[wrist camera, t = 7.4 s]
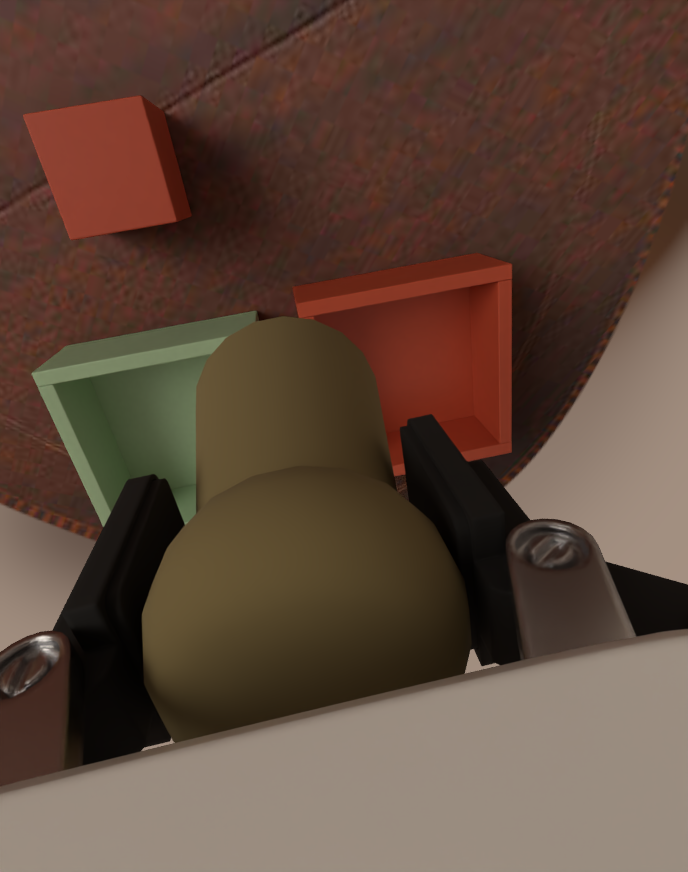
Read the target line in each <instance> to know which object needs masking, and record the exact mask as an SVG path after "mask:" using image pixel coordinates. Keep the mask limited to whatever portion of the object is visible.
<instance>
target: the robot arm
mask: <svg viewBox="0 0 688 872" xmlns="http://www.w3.org/2000/svg"><path fill="white" fill-rule="evenodd" d="M400 437H401V445H402V452H403V459H404V467H405V474H406V482H407V489H408V497H409V502H410V503H411V504H413V505H414V506H415V507H416V508H417V509H419V510H420V511H421V512H422V513H423V514H424V515H425V516H426V517H427V518H429V519H430V520H431V521H432V522H433V523H434V525H435V526H436V528H437V530H438V532H439V534H440V535H441V537H442V539H443V541H444V543H445V545H446V546H447V548H448V550H449V552H450V554H451V556H452V557H453V559H454V561H455V563H456V565H457V567H458V569H459V571H460V572H461V574H462V576H463V578H464V580H465V586H466V592H467V598H468V605H469V614H470V628H471V641H472V645H471V649H474V650H475V652H476V655H477V657H478V659H479V661H480V664H481V666H485V665H489V664H493V663H497V664H499V665H500V666H496V667H492V668H488V669H483V670H479V671H475V672H471V673H466V674H462V675H458V676H453V677H449V678H445V679H441V680H436V681H432V682H428V683H424V684H419V685H415V686H411V687H406V688H402V689H398V690H394V691H389V692H385V693H381V694H377V695H372V696H368V697H364V698H360V699H356V700H351V701H347V702H343V703H339V704H335V705H331V706H326V707H322V708H318V709H314V710H310V711H306V712H301V713H297V714H293V715H289V716H285V717H281V718H276V719H272V720H268V721H264V722H260V723H256V724H252V725H247V726H243V727H239V728H235V729H231V730H227V731H223V732H218V733H214V734H210V735H206V736H202V737H198V738H194V739H189V740H185V741H181V742H177V743H173V744H169V745H165V746H161V747H157V748H153V749H149V750H145V751H141V750H142V749H143V748H144V747H148V746H152V745H156V744H160V743H165V742H169V741H170V740H171V736H170V734H169V732H168V730H167V728H166V727H165V725H164V723H163V721H162V719H161V717H160V715H159V713H158V712H157V709H156V707H155V705H154V703H153V701H152V699H151V697H150V695H149V693H148V691H147V689H146V687H145V685H144V670H143V639H142V612H143V609H144V606H145V603H146V600H147V597H148V594H149V591H150V587H151V585H152V582H153V580H154V578H155V575H156V573H157V571H158V568H159V566H160V564H161V561H162V559H163V556H164V554H165V552H166V549H167V547H168V546H169V545H170V543H171V542H172V541H173V540H174V538H175V537H176V536H177V534H178V533H179V532H180V531H181V529H182V528H183V527H184V526H185V524H184V521H183V518H182V516H181V513H180V511H179V508H178V506H177V503H176V501H175V498H174V495H173V493H172V490H171V488H170V485H169V483H168V481H167V480H166V479H165V478H163V479H159V478H158V477H157V476H156V475H155V474H151V475H147V476H142V477H137V478H133V479H128V480H127V481H126V483H125V485H124V487H123V489H122V491H121V493H120V495H119V497H118V499H117V501H116V503H115V505H114V507H113V509H112V511H111V513H110V515H109V517H108V519H107V522H106V524H105V526H104V528H103V530H102V532H101V534H100V536H99V538H98V540H97V542H96V544H95V546H94V548H93V550H92V552H91V554H90V556H89V558H88V560H87V562H86V564H85V566H84V568H83V570H82V572H81V574H80V576H79V578H78V580H77V582H76V584H75V586H74V588H73V590H72V592H71V594H70V596H69V598H68V600H67V602H66V604H65V606H64V608H63V610H62V612H61V614H60V617H59V619H58V620H57V623H56V624H55V626H54V629H53V630H52V631H44V632H39V633H36V634H33V635H30V636H27V637H25V638H23V639H21V640H19V641H17V642H15V643H13V644H11V645H10V646H8V647H7V648H6V649H4V650H3V651H1V652H0V872H688V585H687V584H684V583H680V582H676V581H673V580H669V579H665V578H662V577H659V576H655V575H651V574H648V573H644V572H640V571H637V570H633V569H630V568H626V567H623V566H619V565H616V564H612V563H608V562H605V560H604V558H603V555H602V553H601V550H600V548H599V546H598V544H597V542H596V541H595V539H594V538H593V536H592V535H591V534H589V533H588V532H587V531H585V530H584V529H583V528H581V527H579V526H577V525H574V524H572V523H570V522H565V521H561V520H556V519H537V520H530V519H529V518H528V517H527V515H526V514H525V513H524V512H523V510H522V509H521V508H520V507H519V506H518V504H517V503H516V502H515V501H514V499H513V498H512V497H511V496H510V494H509V493H508V492H507V491H506V489H505V488H504V487H503V486H502V484H501V483H500V482H499V481H498V479H497V478H496V477H495V476H494V474H493V473H492V472H491V471H490V469H489V468H488V467H487V466H486V464H485V463H484V462H483V461H482V460H476V461H472V462H467V461H466V459H465V458H464V457H463V455H462V454H461V453H460V451H459V450H458V449H457V447H456V446H455V444H454V443H453V442H452V440H451V439H450V438H449V436H448V435H447V434H446V432H445V431H444V430H443V428H442V427H441V426H440V424H439V423H438V421H437V420H436V419H435V417H434V416H433V415H432V414H429V415H424V416H420V417H415V418H410V419H408V420H407V426H403V427H400ZM471 649H470V650H471ZM140 751H141V752H140Z"/></svg>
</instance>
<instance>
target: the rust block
mask: <svg viewBox="0 0 688 872" xmlns="http://www.w3.org/2000/svg"><path fill="white" fill-rule="evenodd" d="M23 117H24V120H25V122H26V125H27V127H28V130H29V133H30V135H31V138H32V141H33V143H34V146H35V148H36V151H37V154H38V156H39V159H40V161H41V164H42V167H43V169H44V172H45V175H46V177H47V180H48V182H49V185H50V188H51V190H52V193H53V196H54V198H55V201H56V203H57V206H58V209H59V211H60V214H61V216H62V219H63V222H64V224H65V227H66V230H67V232H68V235H69V237H70V239H71V240H77V239H83V238H88V237H94V236H100V235H106V234H111V233H117V232H123V231H128V230H134V229H140V228H146V227H151V226H157V225H163V224H168V223H174V222H178V221H181V220H183V219H186V218H189V217H191V216H192V214H191V210H190V207H189V203H188V199H187V196H186V192H185V188H184V185H183V181H182V177H181V174H180V170H179V166H178V162H177V159H176V155H175V151H174V148H173V144H172V140H171V137H170V133H169V129H168V125H167V122H166V118H165V114H164V112H163V111H162V110H161V109H159V108H158V107H156V106H155V105H154V104H152V103H151V102H149V101H148V100H147V99H145V98H144V97H143V96H134V97H127V98H121V99H115V100H109V101H103V102H96V103H90V104H84V105H78V106H72V107H66V108H59V109H53V110H47V111H41V112H35V113H29V114H24V115H23Z"/></svg>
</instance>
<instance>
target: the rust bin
mask: <svg viewBox="0 0 688 872" xmlns="http://www.w3.org/2000/svg"><path fill="white" fill-rule="evenodd" d="M293 293H294V298H295V303H296V308H297V313H298V318H303V319H312V320H316V321H318V322H320V323H322V324H325V325H327V326H329V327H331V328H333V329H335V330H338V331H340V332H342V333H343V334H344V335H345V336H346V337H347V338H348V339H349V340H350V341H351V342H352V343H354V344H355V345H356V346H357V347H358V348H359V349H360V350H361V351H362V352H363V354H364V356H365V357H366V359H367V361H368V363H369V365H370V367H371V369H372V371H373V373H374V375H375V377H376V382H377V388H378V393H379V398H380V404H381V409H382V414H383V420H384V425H385V430H386V435H387V441H388V446H389V451H390V457H391V462H392V467H393V473H394V476H399V475H404V474H405V467H404V459H403V452H402V445H401V437H400V427H403V426H407V420H408V419H410V418H415V417H420V416H424V415H429V414H432V415H433V416H434V417H435V419H436V420H437V421H438V423H439V424H440V426H441V427H442V428H443V430H444V431H445V432H446V434H447V435H448V436H449V438H450V439H451V440H452V442H453V443H454V444H455V446H456V447H457V449H458V450H459V451H460V453H461V454H462V455H463V457H464V458H465V459H466V461H472V460H477V459H482V458H487V457H492V456H496V455H501V454H506V453H511V452H512V442H511V431H512V264H510V263H507V262H504V261H501V260H498V259H495V258H491V257H488V256H485V255H482V254H479V253H474V254H468V255H463V256H457V257H452V258H447V259H441V260H436V261H430V262H425V263H419V264H414V265H408V266H403V267H398V268H392V269H387V270H381V271H376V272H370V273H365V274H359V275H354V276H349V277H343V278H338V279H332V280H327V281H321V282H316V283H310V284H305V285H300V286H294V287H293Z"/></svg>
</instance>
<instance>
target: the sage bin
mask: <svg viewBox="0 0 688 872" xmlns="http://www.w3.org/2000/svg"><path fill="white" fill-rule="evenodd" d="M257 321H259V318H258V313H257V311H251V312H246V313H241V314H235V315H230V316H224V317H219V318H214V319H208V320H203V321H198V322H192V323H187V324H181V325H176V326H171V327H165V328H160V329H154V330H149V331H144V332H138V333H133V334H127V335H122V336H117V337H111V338H106V339H100V340H95V341H90V342H84V343H79V344H73V345H68V346H66V347H64V348H63V349H62V350H61V351H59V352H58V353H57V354H56V355H54V356H53V357H52V358H50V359H49V360H48V361H47V362H45V363H44V364H43V365H42V366H40V367H39V368H38V369H36V370H35V371H34V372H33V373H32V376H33V378H34V380H35V382H36V384H37V386H38V389H39V391H40V393H41V395H42V398H43V400H44V402H45V404H46V406H47V408H48V410H49V412H50V415H51V417H52V419H53V421H54V423H55V425H56V427H57V429H58V431H59V434H60V436H61V438H62V440H63V442H64V444H65V446H66V448H67V451H68V453H69V455H70V457H71V459H72V461H73V463H74V465H75V468H76V470H77V472H78V474H79V476H80V478H81V480H82V482H83V484H84V487H85V489H86V491H87V493H88V495H89V497H90V499H91V501H92V504H93V506H94V508H95V510H96V512H97V514H98V516H99V518H100V521H101V523H102V525H103V527H104V526H105V524H106V522H107V519H108V517H109V515H110V513H111V511H112V509H113V507H114V505H115V503H116V501H117V499H118V497H119V495H120V493H121V491H122V489H123V487H124V485H125V483H126V481H127V480H128V479H133V478H137V477H142V476H147V475H151V474H155V475H156V476H157V477H158V478H159V479H163V478H165V479H166V480H167V481H168V483H169V485H170V488H171V490H172V493H173V495H174V498H175V501H176V503H177V506H178V508H179V511H180V513H181V516H182V518H183V521H184V524H185V525H186V524H187V523H188V522H189V521H190V520H191V519H192V518H193V517H194V516H195V515H196V386H197V383H198V381H199V378H200V376H201V373H202V371H203V368H204V366H205V363H206V360H207V359H208V358H209V357H210V356H211V354H212V353H213V352H214V351H215V350H216V349H217V348H218V346H219V345H220V344H221V343H222V342H223V341H224V340H225V338H226V337H228V336H230V335H232V334H233V333H235V332H237V331H239V330H240V329H242V328H244V327H246V326H247V325H249V324H251V323H253V322H257Z"/></svg>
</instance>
